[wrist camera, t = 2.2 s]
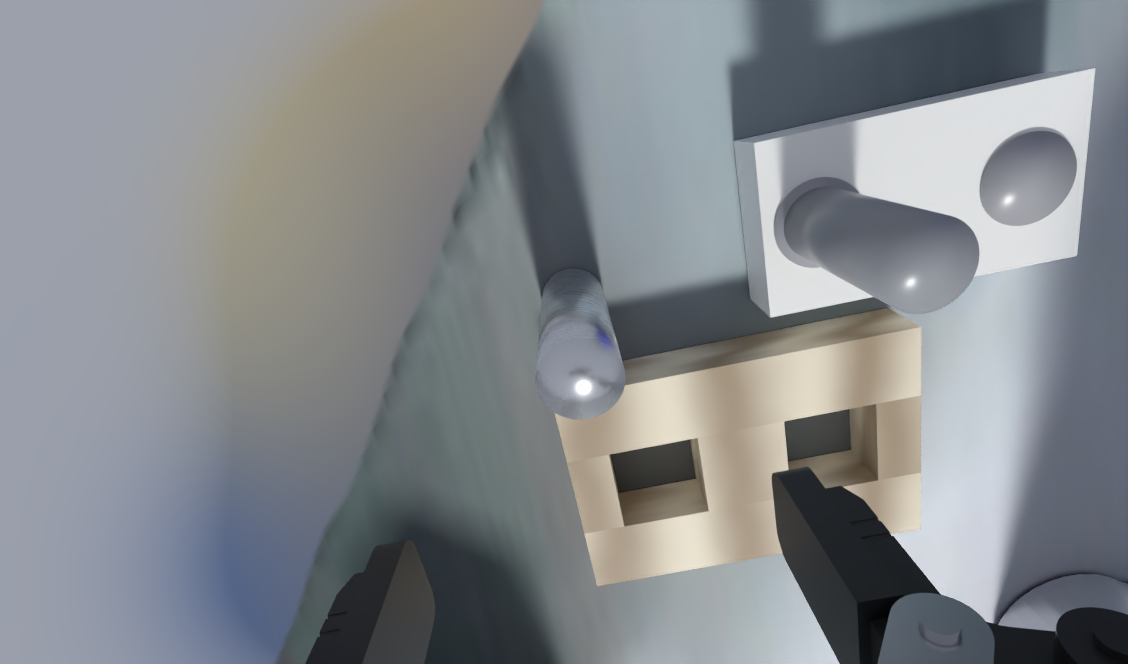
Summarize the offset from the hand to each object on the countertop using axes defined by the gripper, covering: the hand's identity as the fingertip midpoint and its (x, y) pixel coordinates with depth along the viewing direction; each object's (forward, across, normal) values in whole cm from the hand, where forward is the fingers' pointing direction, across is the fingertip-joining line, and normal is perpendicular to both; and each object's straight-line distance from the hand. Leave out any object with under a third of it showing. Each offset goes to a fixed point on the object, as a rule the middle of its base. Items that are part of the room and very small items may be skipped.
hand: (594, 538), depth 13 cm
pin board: (+18, -7, +10) cm, 22 cm away
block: (+18, -16, -2) cm, 24 cm away
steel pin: (+18, 0, 0) cm, 18 cm away
